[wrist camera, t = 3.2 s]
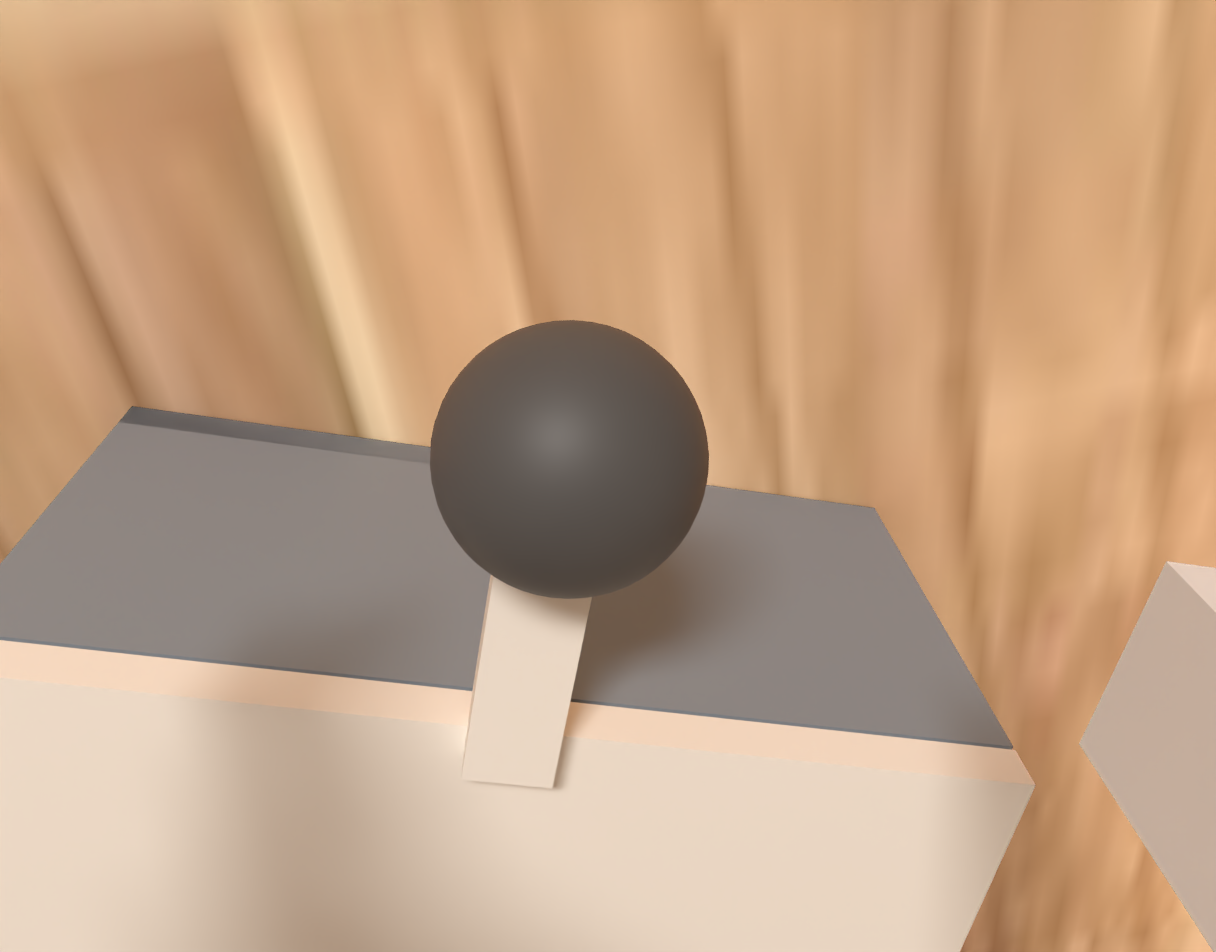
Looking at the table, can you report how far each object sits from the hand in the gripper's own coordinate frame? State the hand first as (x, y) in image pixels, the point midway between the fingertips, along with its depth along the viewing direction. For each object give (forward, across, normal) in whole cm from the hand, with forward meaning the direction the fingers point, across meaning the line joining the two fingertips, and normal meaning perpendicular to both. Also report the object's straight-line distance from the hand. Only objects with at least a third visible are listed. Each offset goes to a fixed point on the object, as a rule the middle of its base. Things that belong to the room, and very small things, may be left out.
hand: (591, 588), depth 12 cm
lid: (+6, 0, +10) cm, 12 cm away
